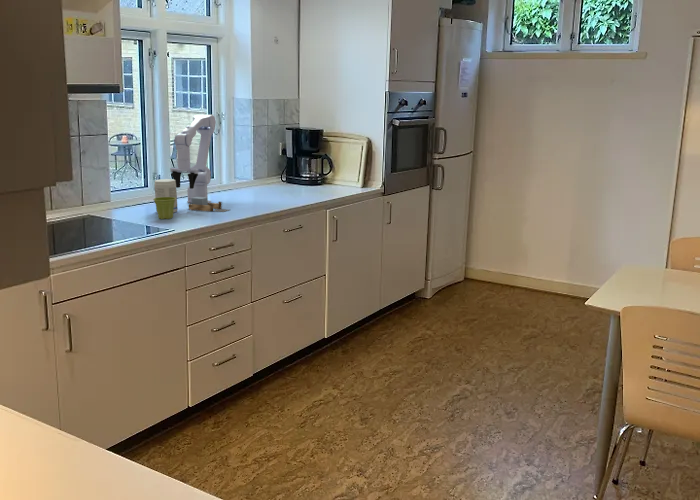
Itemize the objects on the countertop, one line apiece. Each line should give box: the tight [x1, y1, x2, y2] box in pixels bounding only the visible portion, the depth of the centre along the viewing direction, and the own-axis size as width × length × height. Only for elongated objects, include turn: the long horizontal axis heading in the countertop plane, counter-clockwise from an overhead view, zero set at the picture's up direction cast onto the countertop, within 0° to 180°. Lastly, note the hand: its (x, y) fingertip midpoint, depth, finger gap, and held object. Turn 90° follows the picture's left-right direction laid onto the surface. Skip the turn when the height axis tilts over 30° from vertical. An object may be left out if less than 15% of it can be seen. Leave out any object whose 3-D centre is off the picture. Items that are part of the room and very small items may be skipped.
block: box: [191, 197, 209, 205], centre depth 327 cm, size 6×4×5 cm
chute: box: [188, 201, 223, 212], centre depth 326 cm, size 13×8×4 cm, turn 68°
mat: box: [213, 208, 230, 213], centre depth 323 cm, size 6×6×1 cm
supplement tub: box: [154, 178, 178, 214], centre depth 316 cm, size 10×10×15 cm
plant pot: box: [153, 197, 176, 220], centre depth 302 cm, size 9×9×9 cm
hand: (185, 188), depth 328 cm, fingers open, 7 cm apart
